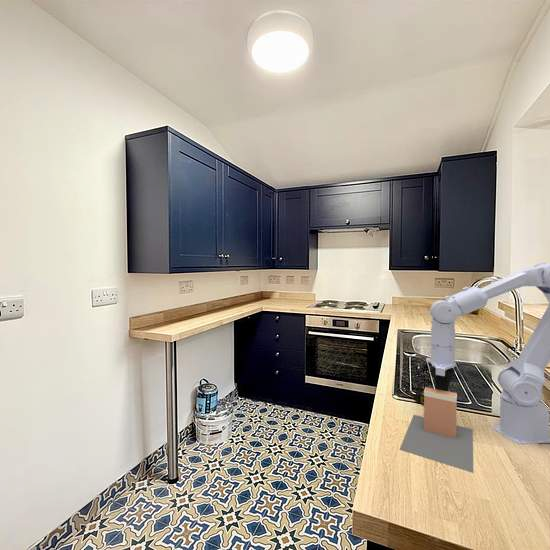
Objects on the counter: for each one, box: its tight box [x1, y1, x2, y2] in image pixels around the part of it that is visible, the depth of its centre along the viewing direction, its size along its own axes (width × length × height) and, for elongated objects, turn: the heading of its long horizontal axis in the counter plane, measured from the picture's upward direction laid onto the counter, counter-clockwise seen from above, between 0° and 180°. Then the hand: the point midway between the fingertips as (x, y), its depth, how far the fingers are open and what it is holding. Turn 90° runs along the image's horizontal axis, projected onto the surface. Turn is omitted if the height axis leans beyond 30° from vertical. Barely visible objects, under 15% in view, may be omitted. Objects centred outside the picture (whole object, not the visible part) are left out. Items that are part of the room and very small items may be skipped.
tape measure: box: [412, 390, 424, 406], centre depth 91 cm, size 7×7×4 cm
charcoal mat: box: [399, 414, 474, 474], centre depth 72 cm, size 20×14×1 cm
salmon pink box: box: [423, 386, 458, 438], centre depth 75 cm, size 3×7×10 cm, turn 57°
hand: (442, 394), depth 81 cm, fingers closed
